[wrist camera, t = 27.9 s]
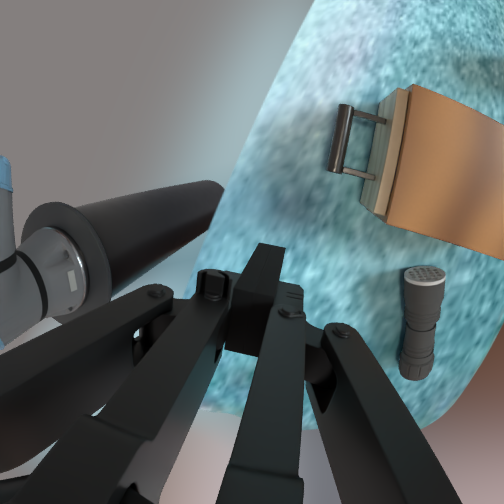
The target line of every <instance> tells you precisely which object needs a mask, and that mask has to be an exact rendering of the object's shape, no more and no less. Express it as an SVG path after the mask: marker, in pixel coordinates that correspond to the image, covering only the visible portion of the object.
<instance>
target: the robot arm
mask: <svg viewBox="0 0 504 504" xmlns="http://www.w3.org/2000/svg"><path fill="white" fill-rule="evenodd" d="M12 193H13V188H12V181H11V166H10V162H9V160H8V159H7V158H6V157H4V156H2V155H0V350H2V349H4V347H5V346H6V345H7V344H9V343H10V342H11V341H13V340H14V339H16V338H17V337H18V336H20V335H21V334H22V333H24V332H25V331H27V330H28V329H30V328H31V327H32V326H34V325H35V324H37V323H38V322H40V321H41V320H43V319H44V318H48V317H54V316H59V315H65V314H69V313H72V312H74V311H76V310H77V309H79V308H80V307H81V306H82V305H83V304H84V303H85V302H86V300H87V297H88V294H89V289H90V277H89V271H88V267H87V263H86V260H85V258H84V255H83V253H82V251H81V249H80V247H79V246H78V244H77V243H76V241H75V240H74V239H73V238H72V236H71V235H69V234H68V233H67V232H66V231H65V230H63V229H61V228H59V227H56V226H47V227H44V228H41V229H39V230H37V231H35V232H34V233H33V234H32V235H31V236H30V237H29V238H27V239H26V240H25V241H24V242H23V243H22V244H21V245H20V246H19V247H18V248H17V249H16V246H15V236H14V226H13V212H12V211H13V210H12ZM285 249H286V248H284V247H279V246H274V245H269V244H264V243H259V244H258V246H257V247H256V249H255V251H254V253H253V254H252V256H251V258H250V260H249V261H248V263H247V265H246V267H245V268H244V270H243V272H242V274H239V273H235V272H230V271H221V270H216V269H204V270H200V271H199V272H198V274H197V284H196V293H195V294H194V295H193V296H192V297H191V299H175V298H173V295H174V292H173V290H172V289H171V288H169V287H167V286H163V285H162V284H151V285H146V286H143V287H141V288H138V289H136V290H134V291H132V292H130V293H128V294H126V295H124V296H121V297H119V298H117V299H115V300H113V301H111V302H109V303H106V304H104V305H102V306H100V307H98V308H96V309H94V310H92V311H90V312H88V313H86V314H83V315H81V316H79V317H77V318H75V319H73V320H71V321H69V322H67V323H65V324H63V325H61V326H59V327H57V328H54V329H52V330H50V331H48V332H46V333H44V334H42V335H40V336H38V337H36V338H34V339H32V340H30V341H28V342H26V343H24V344H22V345H20V346H18V347H16V348H14V349H12V350H9V351H8V352H6V353H4V354H1V355H0V473H3V472H6V471H9V470H11V469H14V468H16V467H18V466H20V465H22V464H24V463H25V462H27V461H29V460H30V459H32V458H33V457H35V456H36V455H38V454H39V453H40V452H42V451H43V450H45V449H46V448H47V447H49V446H50V445H51V444H53V443H54V442H56V441H57V440H58V439H59V440H58V441H57V442H56V443H55V445H54V446H53V447H52V448H51V450H50V451H49V452H48V453H47V455H46V456H45V457H44V458H43V459H42V461H41V462H40V463H39V464H38V466H37V467H36V468H35V470H34V471H33V472H32V473H31V474H30V475H25V476H21V477H15V478H10V479H5V480H0V504H159V499H160V495H161V492H162V489H163V487H164V485H165V483H166V481H167V478H168V476H169V474H170V472H171V469H172V467H173V465H174V463H175V461H176V458H177V456H178V454H179V452H180V449H181V447H182V445H183V443H184V441H185V438H186V436H187V434H188V432H189V429H190V427H191V425H192V423H193V420H194V418H195V416H196V414H197V411H198V409H199V407H200V405H201V402H202V400H203V398H204V395H205V393H206V391H207V389H208V386H209V384H210V382H211V379H212V377H213V375H214V373H215V370H216V368H217V366H218V363H219V361H220V359H221V356H222V350H223V345H224V343H225V348H224V349H225V350H229V351H233V352H237V353H242V354H246V355H250V356H255V357H258V360H257V364H256V368H255V372H254V376H253V379H252V383H251V387H250V390H249V394H248V398H247V401H246V405H245V409H244V412H243V416H242V419H241V423H240V426H239V430H238V433H237V437H236V440H235V444H234V447H233V451H232V454H231V458H230V461H229V464H228V466H227V468H226V471H225V474H224V477H223V481H222V484H221V487H220V490H219V494H218V497H217V500H216V503H215V504H303V495H304V481H303V478H300V477H299V475H298V469H299V456H300V444H301V431H302V415H303V397H304V380H305V381H306V390H307V393H308V396H309V399H310V402H311V405H312V409H313V412H314V415H315V418H316V421H317V425H318V428H319V431H320V434H321V437H322V441H323V444H324V447H325V450H326V454H327V457H328V460H329V463H330V467H331V470H332V473H333V476H334V480H335V483H336V486H337V490H338V493H339V496H340V499H341V503H342V504H462V502H461V500H460V498H459V497H458V495H457V493H456V491H455V489H454V487H453V486H452V484H451V482H450V480H449V478H448V477H447V475H446V473H445V471H444V470H443V468H442V466H441V464H440V463H439V461H438V459H437V457H436V456H435V454H434V452H433V451H432V449H431V447H430V445H429V444H428V442H427V440H426V439H425V437H424V435H423V434H422V432H421V430H420V429H419V427H418V425H417V424H416V422H415V420H414V419H413V417H412V415H411V414H410V412H409V410H408V409H407V407H406V406H405V404H404V402H403V401H402V399H401V398H400V396H399V394H398V393H397V391H396V390H395V388H394V386H393V385H392V383H391V382H390V380H389V378H388V377H387V375H386V374H385V372H384V371H383V369H382V368H381V366H380V364H379V363H378V361H377V360H376V358H375V357H374V355H373V354H372V352H371V351H370V349H369V348H368V346H367V345H366V343H365V342H364V340H363V338H362V337H361V335H360V334H359V333H358V332H357V331H356V329H354V328H352V327H351V326H350V325H347V324H344V323H337V322H336V323H329V324H326V326H325V327H324V330H322V329H319V328H316V327H314V326H312V325H311V324H309V323H308V322H307V321H306V315H305V313H304V312H303V297H304V290H303V289H302V288H301V287H300V285H296V284H291V283H286V282H281V281H279V278H280V273H281V268H282V264H283V259H284V254H285ZM138 329H139V336H138V337H136V338H134V333H135V332H136V331H137V330H138ZM105 404H106V405H105ZM104 405H105V406H104ZM103 406H104V408H103V409H102V410H101V412H100V413H99V414H98V415H96V416H91V415H92V414H93V413H95V412H96V411H97V410H99V409H100V408H101V407H103Z"/></svg>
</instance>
